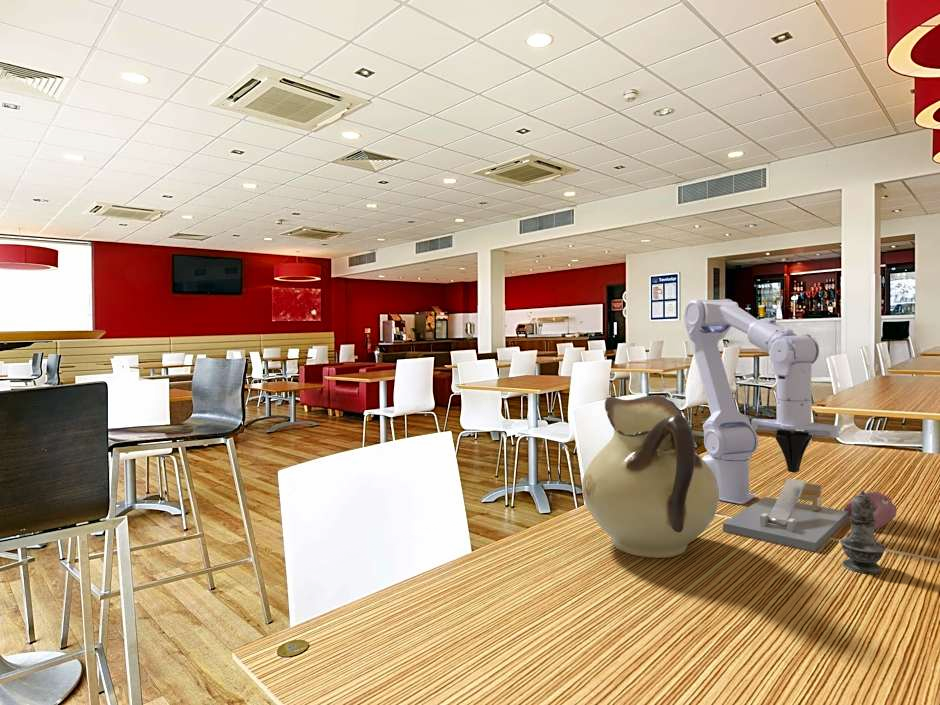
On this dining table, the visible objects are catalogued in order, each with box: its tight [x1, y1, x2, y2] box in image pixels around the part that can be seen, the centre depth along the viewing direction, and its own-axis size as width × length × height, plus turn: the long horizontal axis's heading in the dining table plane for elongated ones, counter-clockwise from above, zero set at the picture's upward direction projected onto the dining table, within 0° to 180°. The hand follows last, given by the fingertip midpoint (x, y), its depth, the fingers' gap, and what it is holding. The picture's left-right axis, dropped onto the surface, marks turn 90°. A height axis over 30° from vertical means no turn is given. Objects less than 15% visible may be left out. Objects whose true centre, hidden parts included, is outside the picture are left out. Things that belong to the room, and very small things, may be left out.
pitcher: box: [581, 395, 720, 559], centre depth 101 cm, size 22×24×25 cm
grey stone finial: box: [839, 489, 886, 575], centre depth 91 cm, size 6×6×12 cm
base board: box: [722, 496, 849, 553], centre depth 110 cm, size 15×22×3 cm
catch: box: [799, 481, 823, 511], centre depth 116 cm, size 5×3×4 cm, turn 45°
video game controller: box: [843, 490, 898, 531], centre depth 110 cm, size 10×5×7 cm, turn 167°
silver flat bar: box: [768, 477, 806, 526], centre depth 109 cm, size 3×12×1 cm, turn 135°
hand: (793, 471), depth 111 cm, fingers closed
